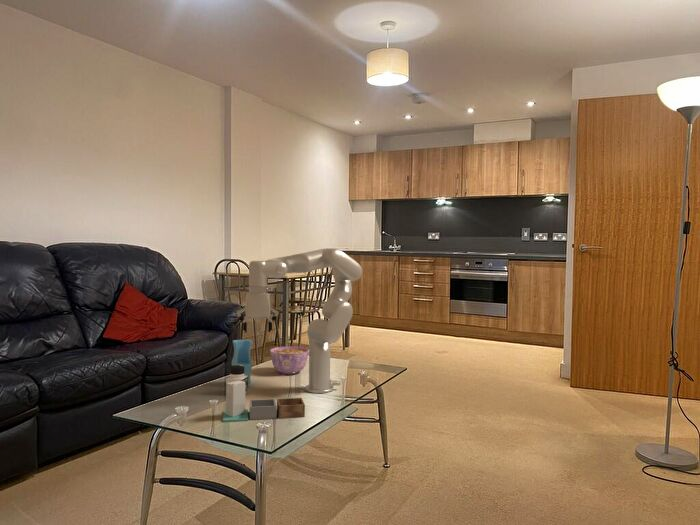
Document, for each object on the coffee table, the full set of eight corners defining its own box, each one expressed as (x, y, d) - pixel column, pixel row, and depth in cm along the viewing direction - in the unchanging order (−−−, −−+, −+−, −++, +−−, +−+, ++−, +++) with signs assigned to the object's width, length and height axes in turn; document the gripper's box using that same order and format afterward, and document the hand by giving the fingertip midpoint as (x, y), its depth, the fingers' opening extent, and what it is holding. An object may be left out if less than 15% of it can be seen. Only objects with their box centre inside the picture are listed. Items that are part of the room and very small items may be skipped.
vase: (234, 387, 236) (235, 343, 235) (231, 383, 243) (231, 340, 242) (251, 385, 239) (252, 342, 238) (248, 381, 246) (248, 339, 246)
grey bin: (274, 410, 202) (274, 398, 202) (276, 418, 193) (276, 406, 193) (249, 411, 200) (249, 400, 200) (250, 419, 191) (250, 407, 191)
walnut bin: (301, 409, 204) (301, 397, 204) (304, 416, 195) (304, 404, 195) (276, 410, 202) (277, 398, 202) (278, 418, 193) (279, 406, 193)
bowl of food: (284, 379, 251) (284, 355, 251) (261, 371, 266) (262, 349, 266) (316, 373, 265) (317, 350, 264) (293, 366, 279) (293, 345, 279)
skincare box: (238, 411, 198) (238, 379, 198) (245, 413, 195) (246, 381, 195) (225, 415, 193) (225, 382, 193) (232, 417, 191) (233, 384, 190)
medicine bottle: (241, 396, 221) (241, 367, 221) (225, 394, 223) (226, 366, 223) (248, 391, 228) (248, 364, 228) (232, 390, 230) (233, 363, 230)
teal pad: (247, 410, 201) (247, 409, 201) (248, 420, 189) (248, 419, 189) (223, 411, 199) (223, 410, 199) (222, 422, 187) (222, 420, 187)
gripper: (278, 290, 220) (277, 330, 221) (236, 290, 217) (236, 331, 217) (279, 291, 213) (279, 333, 213) (236, 291, 209) (236, 333, 210)
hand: (257, 332), depth 215 cm, fingers open, 9 cm apart
